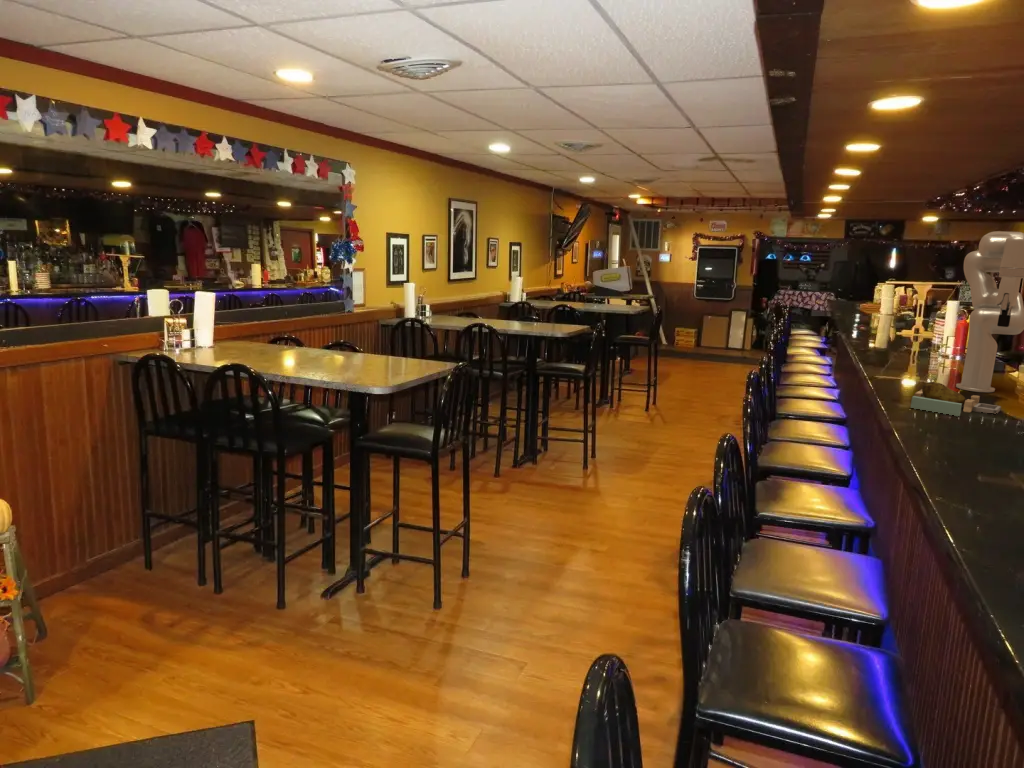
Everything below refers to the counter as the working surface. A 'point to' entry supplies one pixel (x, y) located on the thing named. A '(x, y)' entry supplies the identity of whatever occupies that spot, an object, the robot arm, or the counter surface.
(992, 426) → the counter surface
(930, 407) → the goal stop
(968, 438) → the counter surface
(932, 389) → the potato
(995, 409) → the grey tray
